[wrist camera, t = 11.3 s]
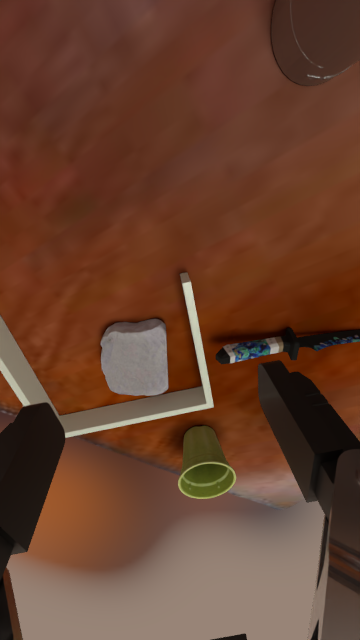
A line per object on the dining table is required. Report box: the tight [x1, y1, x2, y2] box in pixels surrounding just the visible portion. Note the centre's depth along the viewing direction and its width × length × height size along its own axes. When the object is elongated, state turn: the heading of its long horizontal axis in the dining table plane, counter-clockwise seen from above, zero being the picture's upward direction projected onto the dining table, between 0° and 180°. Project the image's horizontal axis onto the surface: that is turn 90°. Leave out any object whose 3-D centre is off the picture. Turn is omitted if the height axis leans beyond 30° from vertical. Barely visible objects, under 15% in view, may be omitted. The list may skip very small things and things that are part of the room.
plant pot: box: [178, 426, 236, 499], centre depth 45 cm, size 9×9×9 cm
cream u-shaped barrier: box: [0, 272, 214, 438], centre depth 37 cm, size 21×27×4 cm
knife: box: [216, 328, 360, 364], centre depth 38 cm, size 31×3×4 cm, turn 89°
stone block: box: [101, 319, 168, 396], centre depth 38 cm, size 12×5×10 cm
